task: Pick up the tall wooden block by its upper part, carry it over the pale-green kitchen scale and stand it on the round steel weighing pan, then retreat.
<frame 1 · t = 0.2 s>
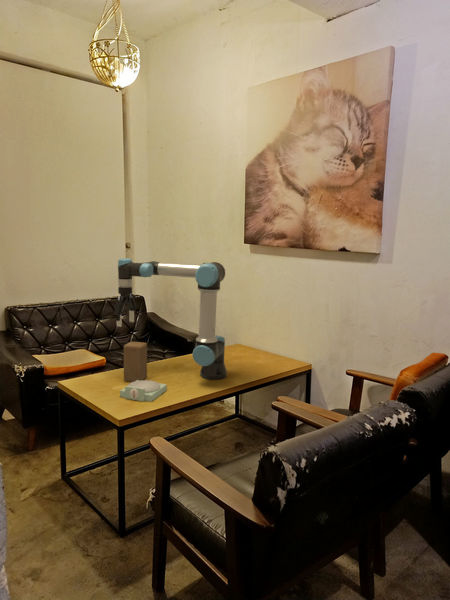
hand: (125, 324, 255), 28 cm above the table, fingers open, 13 cm apart
wooden block: (135, 379, 248), on the table
scale: (143, 393, 227), on the table
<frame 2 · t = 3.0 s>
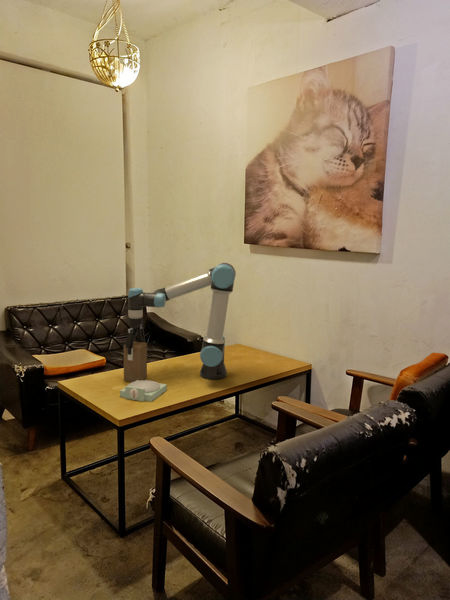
hand: (135, 357, 246), 12 cm above the table, fingers closed on wooden block, 10 cm apart
wooden block: (135, 379, 248), on the table, touching gripper
when the fingers open (18 cm above the table, at t = 8.4 s): wooden block drops 1 cm, resting on scale.
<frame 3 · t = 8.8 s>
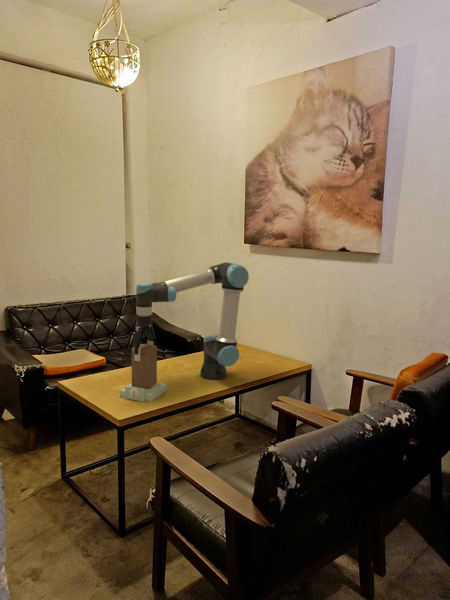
hand: (144, 357, 225), 19 cm above the table, fingers open, 13 cm apart
wooden block: (144, 385, 227), point 4 cm above the table, touching scale
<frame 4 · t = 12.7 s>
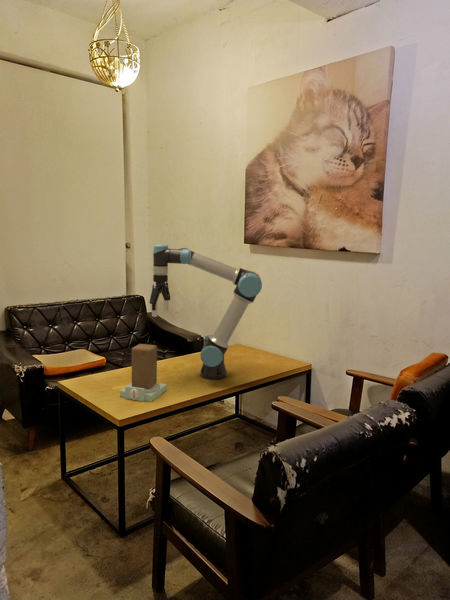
hand: (160, 314, 241), 37 cm above the table, fingers open, 13 cm apart
nothing on the table moved.
at the end: wooden block 0.4 cm from the scale (horizontally); wooden block point 3.8 cm above the table; wooden block tilted 0° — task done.
